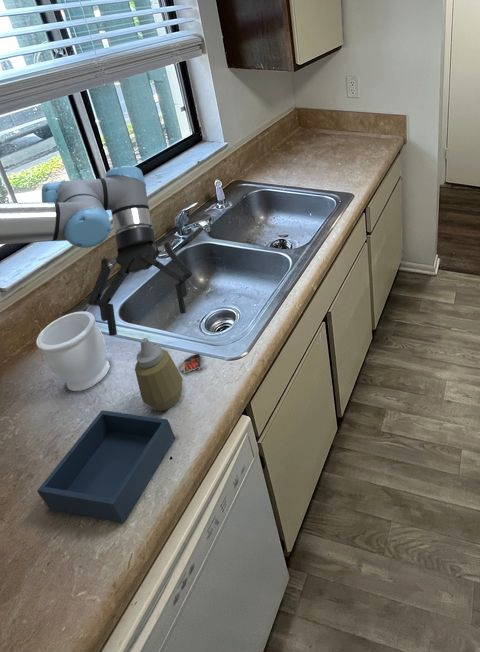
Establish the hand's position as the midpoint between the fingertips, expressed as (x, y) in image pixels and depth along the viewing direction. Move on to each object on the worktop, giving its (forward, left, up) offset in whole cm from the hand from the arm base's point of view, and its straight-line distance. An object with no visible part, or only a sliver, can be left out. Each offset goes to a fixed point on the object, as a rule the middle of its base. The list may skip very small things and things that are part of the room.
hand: (149, 323), depth 95 cm
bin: (+4, -21, -16) cm, 27 cm away
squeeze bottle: (+4, -6, -16) cm, 17 cm away
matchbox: (+4, +3, -16) cm, 17 cm away
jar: (-18, -3, -16) cm, 24 cm away
